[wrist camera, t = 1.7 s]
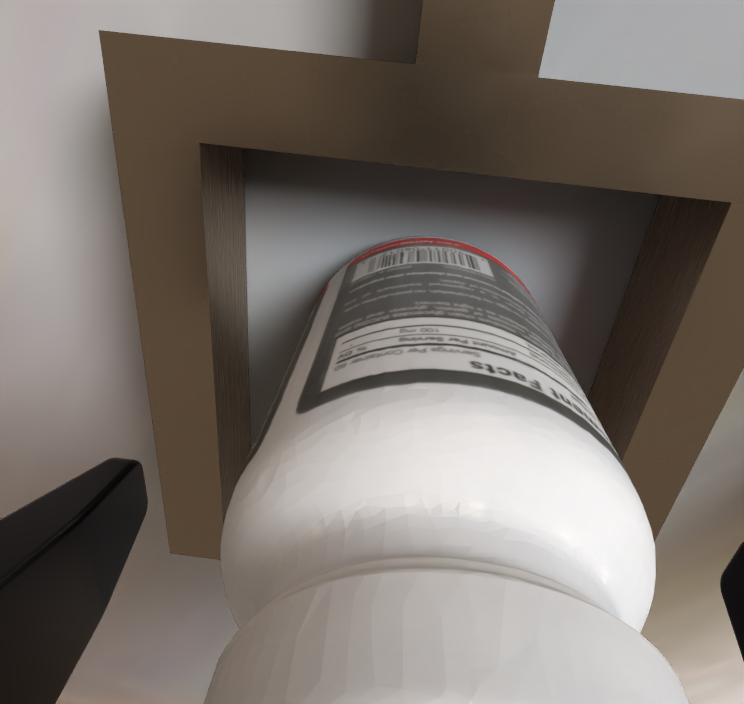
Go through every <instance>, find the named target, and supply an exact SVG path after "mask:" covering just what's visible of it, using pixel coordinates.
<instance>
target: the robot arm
mask: <svg viewBox="0 0 744 704" xmlns="http://www.w3.org/2000/svg"><path fill="white" fill-rule="evenodd" d="M147 504H148V500H147V493H146V486H145V480H144V474H143V468H142V465H141V464H140V462H138V461H136V460H131V459H123V458H111V459H108V460H106V461H104V462H102V463H101V464H99V465H97V466H95V467H93V468H92V469H90V470H88V471H86V472H85V473H83V474H81V475H79V476H77V477H76V478H74V479H72V480H70V481H69V482H67V483H65V484H63V485H61V486H60V487H58V488H56V489H54V490H52V491H51V492H49V493H47V494H45V495H44V496H42V497H40V498H38V499H36V500H35V501H33V502H31V503H29V504H28V505H26V506H24V507H22V508H20V509H19V510H17V511H15V512H13V513H12V514H10V515H8V516H6V517H4V518H3V519H1V520H0V704H55V703H56V701H57V699H58V697H59V696H60V694H61V692H62V690H63V688H64V686H65V685H66V683H67V681H68V679H69V677H70V675H71V674H72V672H73V670H74V668H75V666H76V664H77V663H78V661H79V659H80V657H81V655H82V653H83V651H84V650H85V648H86V646H87V644H88V642H89V640H90V639H91V637H92V635H93V633H94V631H95V629H96V627H97V626H98V624H99V622H100V620H101V618H102V616H103V614H104V612H105V610H106V607H107V605H108V603H109V601H110V598H111V596H112V594H113V591H114V589H115V587H116V584H117V582H118V579H119V577H120V575H121V572H122V570H123V567H124V565H125V563H126V560H127V558H128V556H129V553H130V551H131V548H132V546H133V544H134V541H135V539H136V536H137V534H138V532H139V529H140V527H141V524H142V522H143V520H144V517H145V515H146V511H147ZM720 586H721V593H722V596H723V599H724V602H725V605H726V608H727V611H728V615H729V618H730V621H731V624H732V627H733V630H734V633H735V636H736V639H737V642H738V645H739V648H740V651H741V654H742V658H743V661H744V542H743V543H742V544H741V545H740V547H739V548H738V550H737V551H736V553H735V555H734V556H733V558H732V559H731V561H730V562H729V564H728V566H727V567H726V569H725V570H724V572H723V574H722V576H721V582H720Z"/></svg>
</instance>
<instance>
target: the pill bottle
mask: <svg viewBox="0 0 744 704" xmlns="http://www.w3.org/2000/svg"><path fill="white" fill-rule="evenodd" d="M220 559H221V572H222V579H223V584H224V588H225V593H226V598H227V600H228V603H229V606H230V609H231V611H232V614H233V616H234V619H235V621H236V623H237V625H238V626H239V628H240V630H239V631H238V632H237V633H236V634H235V635H234V637H233V638H232V640H231V641H230V642H229V644H228V645H227V646H226V648H225V650H224V651H223V653H222V655H221V656H220V658H219V661H218V664H217V667H216V670H215V672H214V675H213V678H212V681H211V684H210V687H209V689H208V692H207V695H206V698H205V701H204V704H689V701H688V699H687V696H686V693H685V691H684V688H683V686H682V684H681V682H680V680H679V678H678V677H677V675H676V673H675V671H674V669H673V668H672V667H671V665H670V664H669V663H668V662H667V660H666V659H665V658H664V657H663V655H662V654H661V653H660V651H659V650H658V649H657V648H656V647H654V646H653V645H652V644H651V643H650V642H649V641H648V640H646V639H645V638H644V637H643V636H642V635H641V634H640V633H641V631H642V628H643V626H644V623H645V621H646V619H647V616H648V614H649V610H650V607H651V603H652V600H653V595H654V587H655V578H656V558H655V544H654V539H653V535H652V530H651V527H650V524H649V521H648V518H647V516H646V513H645V510H644V507H643V505H642V502H641V500H640V498H639V496H638V494H637V492H636V489H635V487H634V485H633V483H632V481H631V479H630V477H629V475H628V472H627V471H626V469H625V467H624V465H623V463H622V462H621V460H620V458H619V456H618V454H617V453H616V451H615V449H614V447H613V446H612V444H611V442H610V440H609V438H608V436H607V434H606V433H605V431H604V429H603V427H602V425H601V424H600V422H599V420H598V418H597V416H596V415H595V413H594V411H593V409H592V407H591V405H590V403H589V401H588V400H587V398H586V396H585V394H584V392H583V390H582V388H581V387H580V385H579V383H578V381H577V379H576V377H575V376H574V374H573V372H572V370H571V368H570V366H569V365H568V363H567V361H566V359H565V357H564V355H563V354H562V352H561V350H560V348H559V346H558V344H557V343H556V341H555V339H554V337H553V335H552V333H551V331H550V329H549V327H548V326H547V324H546V322H545V320H544V319H543V317H542V315H541V313H540V310H539V308H538V307H537V305H536V303H535V301H534V299H533V298H532V296H531V295H530V293H529V291H528V290H527V288H526V287H525V285H524V284H523V283H522V281H521V280H520V279H519V278H518V276H517V275H516V274H515V273H514V272H513V271H512V270H511V269H510V268H509V267H508V266H507V265H505V264H504V263H503V262H502V261H500V260H499V259H498V258H496V257H495V256H493V255H492V254H490V253H488V252H486V251H484V250H483V249H481V248H479V247H477V246H474V245H472V244H469V243H466V242H463V241H459V240H456V239H451V238H445V237H438V236H414V237H405V238H400V239H396V240H392V241H388V242H385V243H382V244H380V245H378V246H375V247H373V248H371V249H369V250H367V251H365V252H363V253H361V254H360V255H358V256H357V257H355V258H354V259H352V260H351V261H349V262H348V263H347V264H346V265H345V266H344V267H342V268H341V269H340V270H339V271H338V272H337V273H336V274H335V275H334V276H333V278H332V279H331V280H330V281H329V283H328V284H327V285H326V287H325V288H324V290H323V291H322V293H321V294H320V296H319V297H318V299H317V301H316V303H315V305H314V307H313V309H312V311H311V314H310V316H309V319H308V321H307V323H306V326H305V328H304V330H303V332H302V335H301V337H300V339H299V342H298V344H297V346H296V349H295V351H294V353H293V356H292V358H291V360H290V363H289V365H288V367H287V370H286V372H285V374H284V376H283V379H282V381H281V383H280V385H279V388H278V390H277V392H276V395H275V397H274V399H273V401H272V404H271V406H270V408H269V411H268V413H267V415H266V417H265V420H264V422H263V424H262V427H261V429H260V431H259V433H258V435H257V438H256V440H255V442H254V444H253V447H252V449H251V451H250V453H249V456H248V458H247V460H246V462H245V464H244V467H243V469H242V471H241V474H240V476H239V479H238V481H237V484H236V486H235V489H234V492H233V495H232V498H231V501H230V504H229V507H228V510H227V513H226V517H225V521H224V525H223V532H222V538H221V555H220Z"/></svg>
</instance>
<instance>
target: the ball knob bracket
mask: <svg viewBox="0 0 744 704" xmlns="http://www.w3.org/2000/svg"><path fill="white" fill-rule="evenodd" d="M554 2H555V0H423V4H422V13H421V21H420V30H419V38H418V46H417V55H416V63H415V64H407V63H398V62H388V61H379V60H370V59H361V58H351V57H342V56H333V55H323V54H314V53H305V52H296V51H286V50H277V49H268V48H258V47H249V46H240V45H230V44H221V43H212V42H203V41H193V40H184V39H175V38H165V37H156V36H147V35H137V34H128V33H119V32H110V31H100V30H99V35H100V42H101V49H102V57H103V64H104V71H105V79H106V86H107V93H108V101H109V108H110V115H111V122H112V130H113V137H114V144H115V152H116V159H117V166H118V174H119V181H120V188H121V196H122V203H123V210H124V218H125V225H126V232H127V239H128V247H129V254H130V261H131V269H132V276H133V283H134V291H135V298H136V305H137V313H138V320H139V327H140V334H141V342H142V349H143V356H144V364H145V371H146V378H147V386H148V393H149V400H150V408H151V415H152V422H153V429H154V437H155V444H156V451H157V459H158V466H159V473H160V481H161V488H162V495H163V503H164V510H165V517H166V525H167V532H168V539H169V546H170V553H172V554H180V555H187V556H195V557H203V558H210V559H218V560H221V559H220V555H221V538H222V532H223V525H224V521H225V517H226V513H227V510H228V507H229V504H230V501H231V498H232V495H233V492H234V489H235V486H236V484H237V481H238V479H239V476H240V474H241V471H242V469H243V467H244V464H245V462H246V460H247V458H248V456H249V453H250V451H251V441H250V400H249V358H248V317H247V275H246V234H245V192H244V151H243V148H250V149H259V150H268V151H277V152H286V153H295V154H303V155H312V156H321V157H330V158H339V159H348V160H357V161H366V162H375V163H384V164H393V165H401V166H410V167H419V168H428V169H437V170H446V171H455V172H464V173H473V174H482V175H490V176H499V177H508V178H517V179H526V180H535V181H544V182H553V183H562V184H571V185H580V186H588V187H597V188H606V189H615V190H624V191H633V192H642V193H651V194H660V195H661V196H660V199H659V202H658V205H657V208H656V210H655V213H654V216H653V219H652V222H651V224H650V227H649V230H648V233H647V236H646V238H645V241H644V244H643V247H642V250H641V252H640V255H639V258H638V261H637V264H636V266H635V269H634V272H633V275H632V278H631V280H630V283H629V286H628V289H627V292H626V294H625V297H624V300H623V303H622V306H621V308H620V311H619V314H618V317H617V320H616V322H615V325H614V328H613V331H612V334H611V336H610V339H609V342H608V345H607V348H606V350H605V353H604V356H603V359H602V362H601V364H600V367H599V370H598V373H597V376H596V378H595V381H594V384H593V387H592V390H591V392H590V395H589V398H588V401H589V403H590V405H591V407H592V409H593V411H594V413H595V415H596V416H597V418H598V420H599V422H600V424H601V425H602V427H603V429H604V431H605V433H606V434H607V436H608V438H609V440H610V442H611V444H612V446H613V447H614V449H615V451H616V453H617V454H618V456H619V458H620V460H621V462H622V463H623V465H624V467H625V469H626V471H627V472H628V475H629V477H630V479H631V481H632V483H633V485H634V487H635V489H636V492H637V494H638V496H639V498H640V500H641V502H642V505H643V507H644V510H645V513H646V516H647V518H648V521H649V524H650V527H651V530H652V535H653V539H654V541H655V539H656V537H657V535H658V533H659V531H660V529H661V527H662V525H663V523H664V521H665V520H666V518H667V516H668V514H669V512H670V510H671V508H672V506H673V504H674V502H675V500H676V498H677V496H678V494H679V492H680V490H681V488H682V486H683V485H684V483H685V481H686V479H687V477H688V475H689V473H690V471H691V469H692V467H693V465H694V463H695V461H696V459H697V457H698V455H699V453H700V451H701V449H702V448H703V446H704V444H705V442H706V440H707V438H708V436H709V434H710V432H711V430H712V428H713V426H714V424H715V422H716V420H717V418H718V416H719V414H720V412H721V411H722V409H723V407H724V405H725V403H726V401H727V399H728V397H729V395H730V393H731V391H732V389H733V387H734V385H735V383H736V381H737V379H738V377H739V375H740V374H741V372H742V370H743V368H744V100H742V99H732V98H723V97H714V96H705V95H695V94H686V93H677V92H667V91H658V90H649V89H639V88H630V87H621V86H612V85H602V84H593V83H584V82H574V81H565V80H556V79H547V78H538V74H539V70H540V65H541V61H542V56H543V52H544V47H545V43H546V38H547V34H548V29H549V24H550V20H551V15H552V11H553V6H554Z"/></svg>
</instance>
